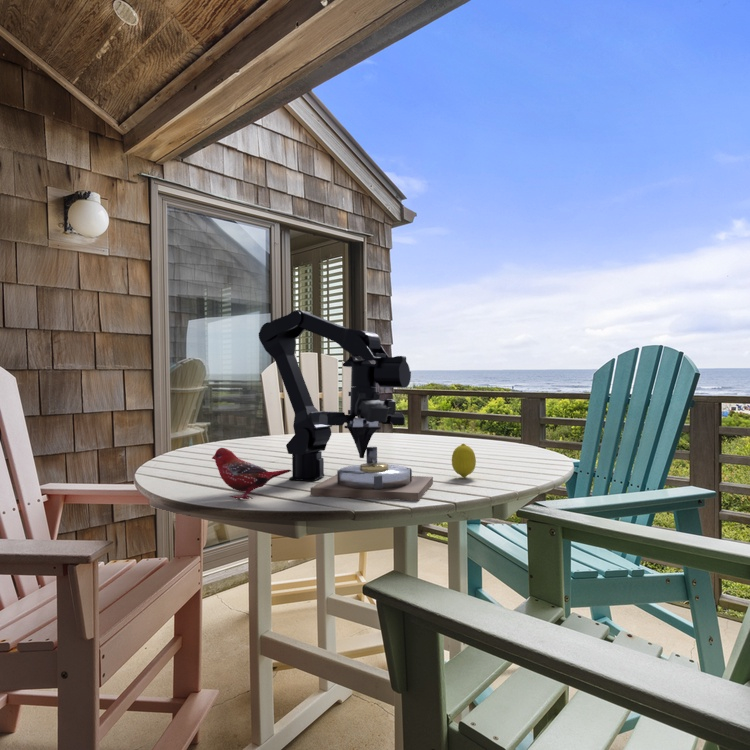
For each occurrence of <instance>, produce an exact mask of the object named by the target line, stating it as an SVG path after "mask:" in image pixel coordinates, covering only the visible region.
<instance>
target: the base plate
mask: <svg viewBox="0 0 750 750" xmlns="http://www.w3.org/2000/svg"><path fill="white" fill-rule="evenodd" d="M433 484H434V477H433V476H427V475H426V476H424V475H422V476H421V475H412V481H410V483H409V484H407V485H404V486H401V487H395V488H386V489H358V488H350V487H346V486H342V485H340V484H338V482H337V474H335V475H333V476H331V477H329V478H327V479H325V480H323V481H320V482H319V483H317V484H316V485H314V486H312V487H310V488H309V489H310V492H309V493H310V496H311V495H313V496H314V497H332V498H333V497H335V498H349V497H351V498H352V499H369V498H379V499H378V500H389V499H400V500H399V501H409V500H412V502H419V501H420V500H421V499H422V498H423V497H424V495H425V494H426V493H427V491H429V489H430V488H431V487H432V485H433ZM429 487H430V488H429ZM425 492H426V493H425ZM424 493H425V494H424ZM313 496H312V497H313ZM420 498H421V499H420Z"/></svg>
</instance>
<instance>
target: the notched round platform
mask: <svg viewBox="0 0 750 750" xmlns="http://www.w3.org/2000/svg"><path fill="white" fill-rule="evenodd" d="M365 454H366V455H365V456H366V463H361V464H355V465H350V466H345V467H344V466H343V467H341V468H340V469H337V470H336V472H337V473H336V475H337V482H338V484H340V485H342V486H346V487H350V488H358V489H386V488H395V487H401V486H404V485H407V484H409V483H410V481H412V476H413V474H412V472H413V471H412V468H411V467H407V466H405V465H400V464H399V465H398V464H390V463H389V464H388V463H385V462H378V447H377V446H367V449H366V451H365Z"/></svg>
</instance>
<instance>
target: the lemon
mask: <svg viewBox="0 0 750 750" xmlns="http://www.w3.org/2000/svg"><path fill="white" fill-rule="evenodd" d="M476 458H477V457H476V455H475V451H474V450H473V449H472V448H471V447H470V446H469V445H467V444H465V443H461V445H458V446H457V447H455V448H454V450H453V452H452V455H451V466H452V469H453V471H454V472H455V473H456V474H458V475H459V476H461V477H462V478H463V479H466V477H468V475H471V474H472V473H473V472H474V471H475V469H476V466H477V464H476V463H477V461H476V460H477V459H476Z"/></svg>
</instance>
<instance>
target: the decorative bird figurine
mask: <svg viewBox="0 0 750 750" xmlns="http://www.w3.org/2000/svg"><path fill="white" fill-rule="evenodd" d="M212 459H213V460H214V461H215V462H214V463H215V465H216V467H217V470H218V473H219V476H220V478H221V480H222V481H223V482H224V483H225V484H226V485H227V486H229V488H231V489H233V490H235V491H238V492H242V494H241V495H238V494H237V495H235V496H234V495H229V498H230V497H231V498H234V499H236V498H243V499H242V500H250V499H254V498H252V497H251V496H250V495H249V494H250V493H251V492H252V491H254V490H255V489H258V488H262V487H264V486H265V485H266V484H267V483H268V482H269V481H270V480H272V479H273V478H274V479H275V478H276V477H278V476H279V477H280V476H282V475H284V474H287V473H290V472H292V469H282V470H274V471H268V470H266V469H265V468H263V467H261V466H259V465H256V464H255V463H251V462H248V461H245V460H244V459H241V458H239V457H238V456H237V455H236V454H234V451H233V452H232V450H229V449H227V448H225V447H219V448H218V449H217V450H216V451H215V453H214V455H213V456H212V457H211V460H212ZM243 492H244V493H243Z"/></svg>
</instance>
